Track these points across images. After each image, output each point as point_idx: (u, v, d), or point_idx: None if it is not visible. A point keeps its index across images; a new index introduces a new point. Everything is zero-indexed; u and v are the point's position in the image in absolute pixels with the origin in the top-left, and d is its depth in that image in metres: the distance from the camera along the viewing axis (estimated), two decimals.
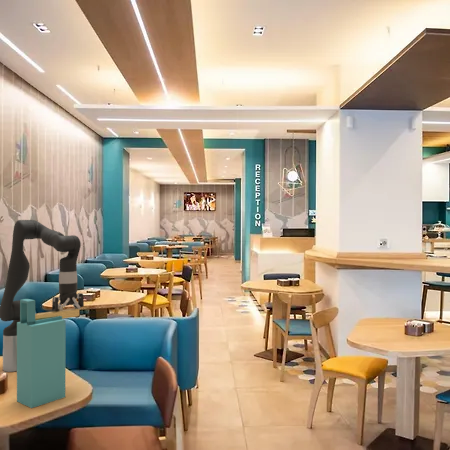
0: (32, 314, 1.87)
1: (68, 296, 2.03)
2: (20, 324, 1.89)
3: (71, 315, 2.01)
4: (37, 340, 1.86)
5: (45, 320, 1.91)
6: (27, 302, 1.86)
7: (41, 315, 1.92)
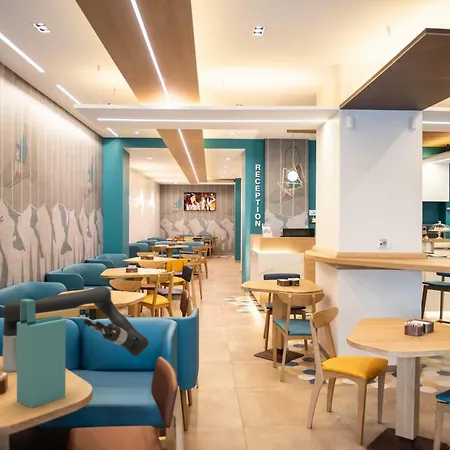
0: (32, 314, 1.87)
1: None
2: (20, 324, 1.89)
3: (71, 315, 2.01)
4: (37, 340, 1.86)
5: (45, 320, 1.91)
6: (27, 302, 1.86)
7: (41, 315, 1.92)
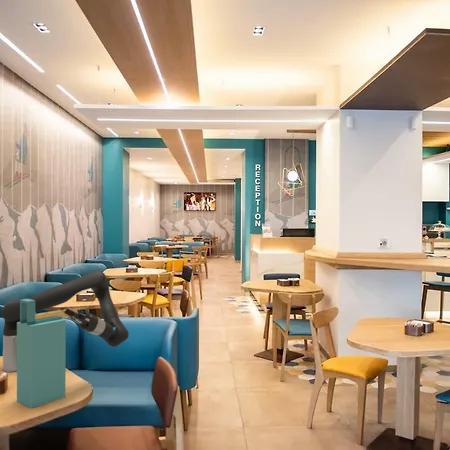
0: (32, 314, 1.87)
1: None
2: (20, 324, 1.89)
3: None
4: (37, 340, 1.86)
5: (45, 320, 1.91)
6: (27, 302, 1.86)
7: (42, 315, 1.92)
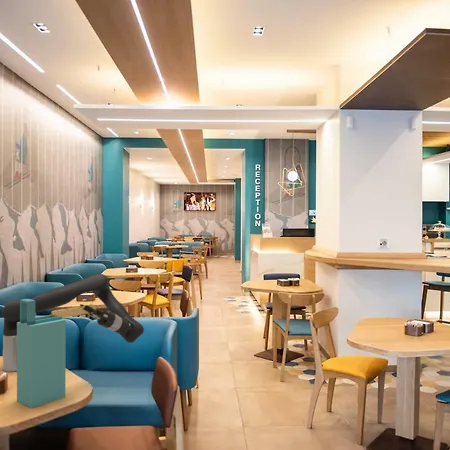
0: (32, 314, 1.87)
1: None
2: (20, 324, 1.89)
3: None
4: (37, 340, 1.86)
5: (45, 320, 1.91)
6: (27, 302, 1.86)
7: (62, 311, 1.99)
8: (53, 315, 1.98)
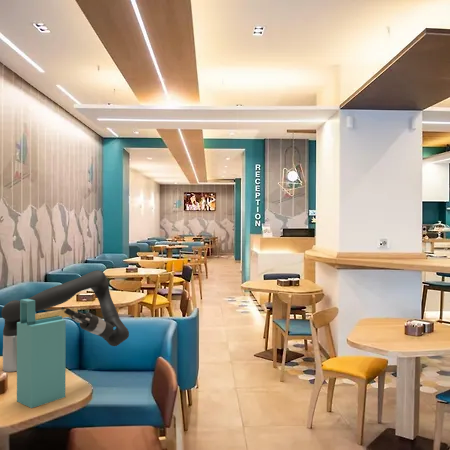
0: (32, 314, 1.87)
1: (82, 321, 2.08)
2: (20, 324, 1.89)
3: None
4: (37, 340, 1.86)
5: (45, 320, 1.91)
6: (27, 302, 1.86)
7: (42, 315, 1.92)
8: None
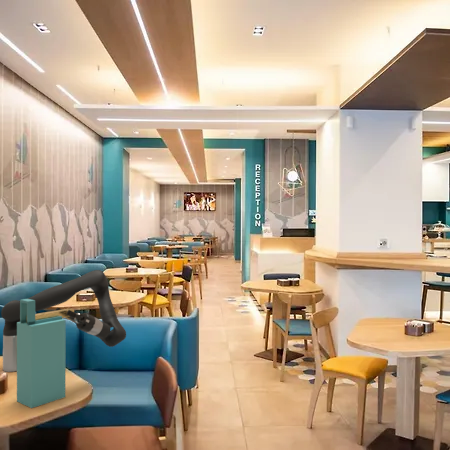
0: (32, 314, 1.87)
1: (79, 322, 2.07)
2: (20, 324, 1.89)
3: (66, 315, 2.01)
4: (37, 340, 1.86)
5: (45, 320, 1.91)
6: (27, 302, 1.86)
7: (38, 316, 1.91)
8: None
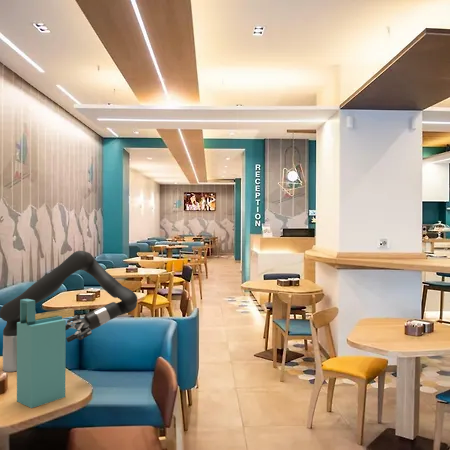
0: (32, 314, 1.87)
1: None
2: (20, 324, 1.89)
3: (66, 315, 2.01)
4: (37, 340, 1.86)
5: (45, 320, 1.91)
6: (27, 302, 1.86)
7: (38, 316, 1.91)
8: None
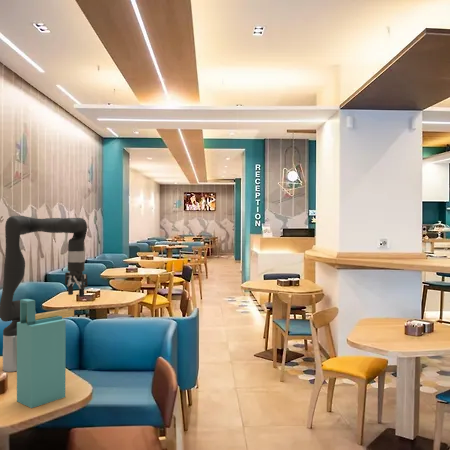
0: (32, 314, 1.87)
1: None
2: (20, 324, 1.89)
3: (66, 315, 2.01)
4: (37, 340, 1.86)
5: (45, 320, 1.91)
6: (27, 302, 1.86)
7: (38, 316, 1.91)
8: None
